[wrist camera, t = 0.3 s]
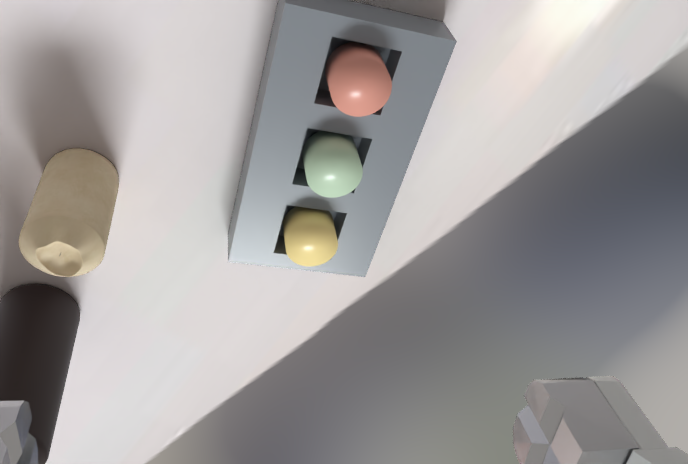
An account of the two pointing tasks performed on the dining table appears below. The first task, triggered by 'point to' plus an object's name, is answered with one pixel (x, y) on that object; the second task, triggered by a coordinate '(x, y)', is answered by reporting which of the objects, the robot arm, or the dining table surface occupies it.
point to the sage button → (331, 164)
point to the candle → (70, 214)
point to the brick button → (357, 79)
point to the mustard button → (309, 236)
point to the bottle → (37, 354)
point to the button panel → (333, 128)
